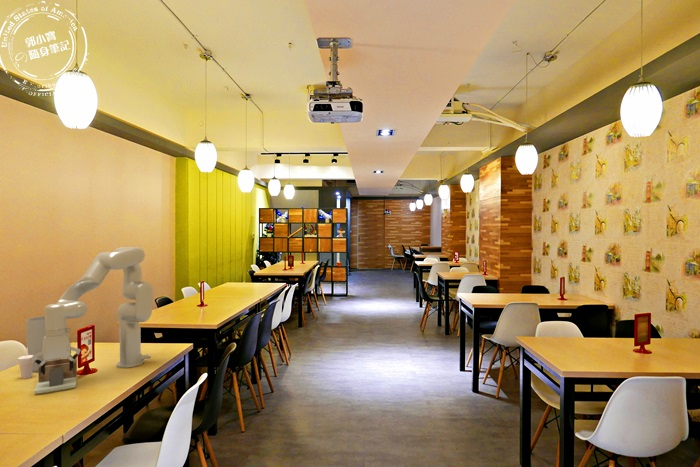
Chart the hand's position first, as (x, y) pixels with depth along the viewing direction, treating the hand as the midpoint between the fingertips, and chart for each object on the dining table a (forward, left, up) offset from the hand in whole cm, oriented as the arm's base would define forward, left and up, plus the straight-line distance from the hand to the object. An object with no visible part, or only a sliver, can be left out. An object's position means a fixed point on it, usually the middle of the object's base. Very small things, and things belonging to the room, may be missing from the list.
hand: (57, 371), depth 186 cm
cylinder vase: (+8, -38, -7) cm, 39 cm away
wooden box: (0, -13, -7) cm, 15 cm away
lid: (0, 0, -6) cm, 6 cm away
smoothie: (+13, -25, -7) cm, 29 cm away
